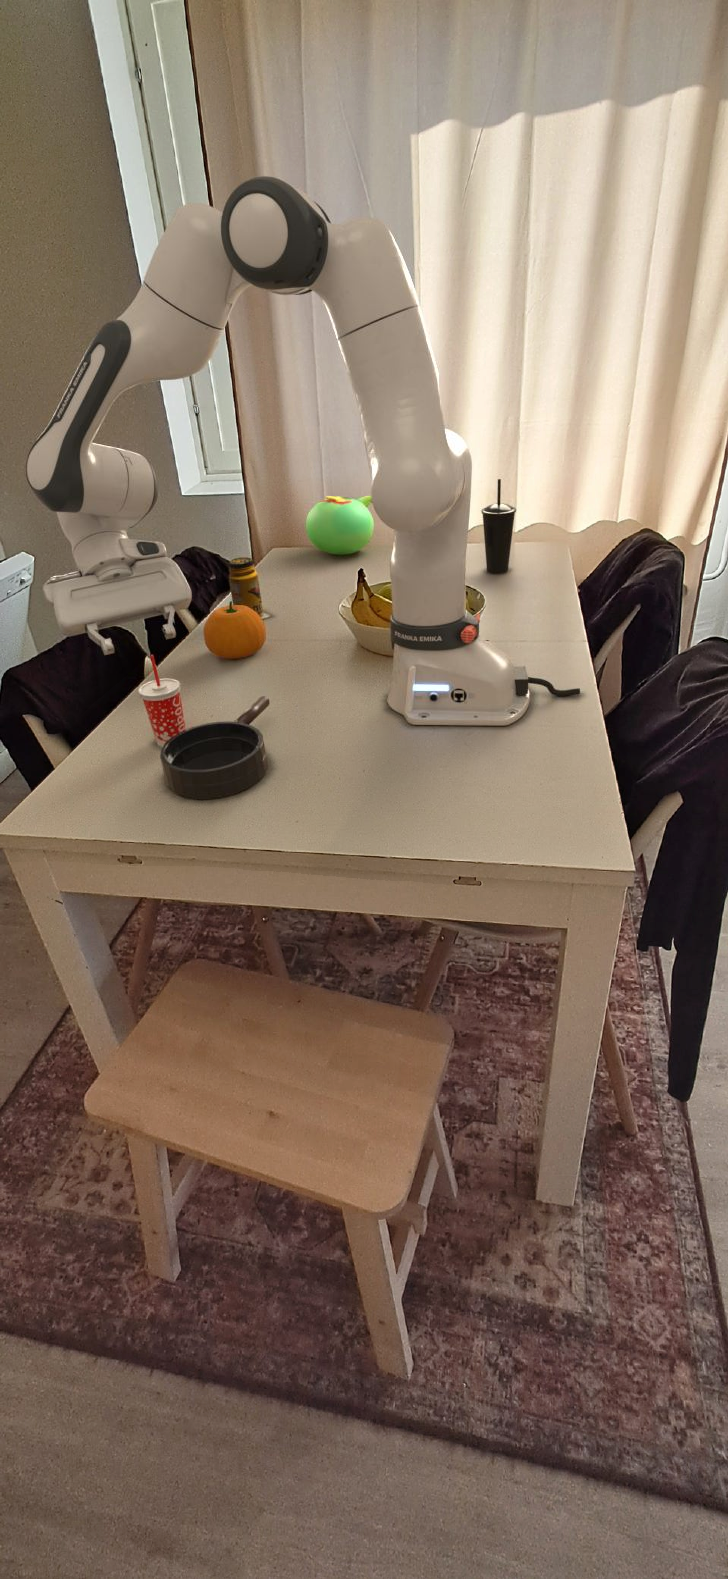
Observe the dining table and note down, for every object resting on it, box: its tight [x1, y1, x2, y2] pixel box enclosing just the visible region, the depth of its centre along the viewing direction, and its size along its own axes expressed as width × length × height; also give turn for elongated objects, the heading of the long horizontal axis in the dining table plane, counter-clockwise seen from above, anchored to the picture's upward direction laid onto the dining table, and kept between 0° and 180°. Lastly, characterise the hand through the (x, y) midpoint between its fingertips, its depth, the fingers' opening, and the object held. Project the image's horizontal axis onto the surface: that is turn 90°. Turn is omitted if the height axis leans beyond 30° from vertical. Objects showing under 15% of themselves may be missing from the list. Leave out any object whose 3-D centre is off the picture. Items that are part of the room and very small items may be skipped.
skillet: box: [159, 721, 269, 800], centre depth 107 cm, size 14×14×4 cm
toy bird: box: [305, 494, 375, 556], centre depth 196 cm, size 18×17×15 cm
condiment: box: [227, 556, 271, 620], centre depth 160 cm, size 7×8×12 cm
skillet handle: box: [230, 695, 271, 733], centre depth 115 cm, size 10×2×2 cm, turn 160°
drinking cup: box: [480, 478, 517, 575], centre depth 172 cm, size 8×8×20 cm
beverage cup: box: [138, 654, 186, 748], centre depth 114 cm, size 6×6×14 cm
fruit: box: [202, 600, 267, 660], centre depth 144 cm, size 12×12×10 cm
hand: (140, 644), depth 115 cm, fingers open, 8 cm apart
